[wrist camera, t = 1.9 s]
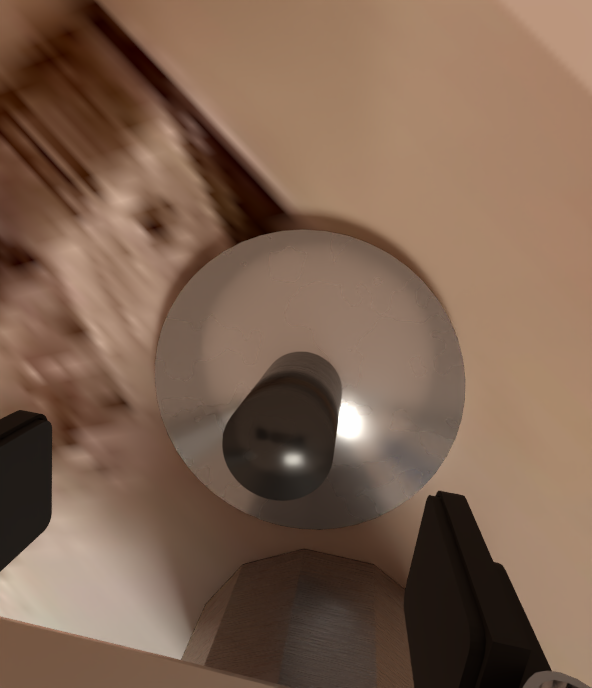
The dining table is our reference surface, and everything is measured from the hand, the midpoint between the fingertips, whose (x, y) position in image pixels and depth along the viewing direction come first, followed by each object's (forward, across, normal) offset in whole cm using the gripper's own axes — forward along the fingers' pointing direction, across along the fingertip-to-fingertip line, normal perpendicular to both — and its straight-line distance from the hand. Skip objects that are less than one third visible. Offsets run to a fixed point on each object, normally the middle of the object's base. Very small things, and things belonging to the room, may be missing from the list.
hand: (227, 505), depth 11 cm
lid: (+11, -1, 0) cm, 11 cm away
